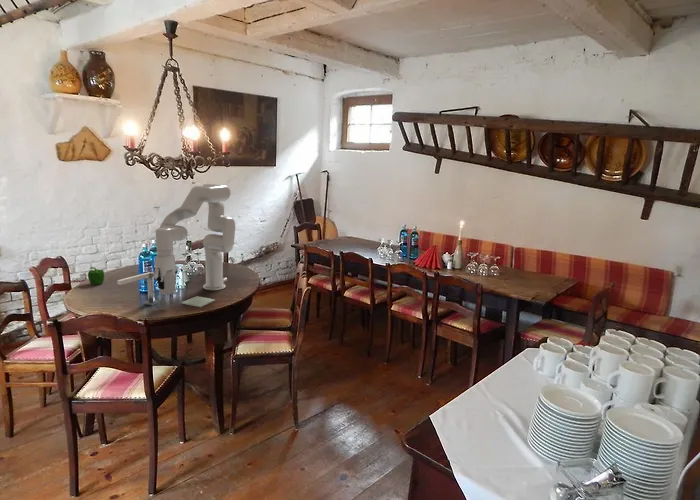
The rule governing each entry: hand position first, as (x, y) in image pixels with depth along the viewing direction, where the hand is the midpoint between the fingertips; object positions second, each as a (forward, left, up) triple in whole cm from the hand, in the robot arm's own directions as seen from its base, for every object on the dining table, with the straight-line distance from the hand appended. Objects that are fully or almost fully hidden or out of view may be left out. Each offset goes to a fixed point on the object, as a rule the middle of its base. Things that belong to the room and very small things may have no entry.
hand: (167, 286), depth 227 cm
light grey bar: (+9, -11, +4) cm, 14 cm away
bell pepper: (-10, -61, -11) cm, 63 cm away
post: (+1, -10, -11) cm, 15 cm away
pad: (-12, +9, -11) cm, 19 cm away
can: (0, 0, -4) cm, 4 cm away
